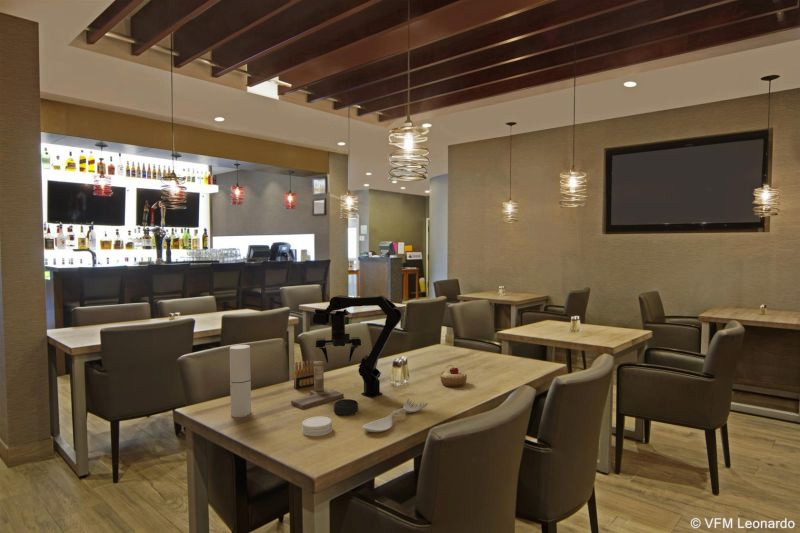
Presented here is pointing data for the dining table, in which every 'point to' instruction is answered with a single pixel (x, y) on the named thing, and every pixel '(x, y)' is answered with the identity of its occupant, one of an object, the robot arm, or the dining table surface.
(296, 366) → the ammunition clip
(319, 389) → the beige round-topped column
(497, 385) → the dining table surface
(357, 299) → the robot arm
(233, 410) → the cylindrical container
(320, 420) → the coaster
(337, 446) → the dining table surface
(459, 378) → the pastry
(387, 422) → the white spork
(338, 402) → the smart speaker
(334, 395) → the walnut plank
